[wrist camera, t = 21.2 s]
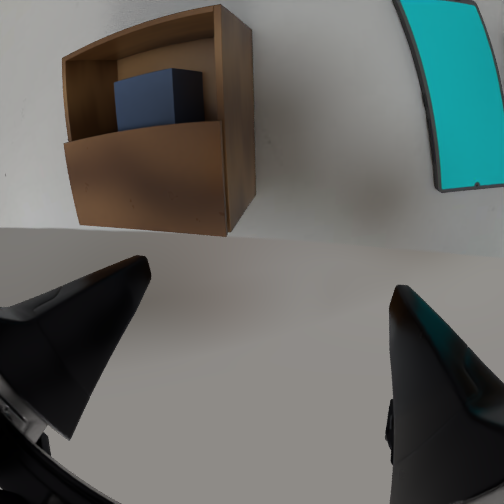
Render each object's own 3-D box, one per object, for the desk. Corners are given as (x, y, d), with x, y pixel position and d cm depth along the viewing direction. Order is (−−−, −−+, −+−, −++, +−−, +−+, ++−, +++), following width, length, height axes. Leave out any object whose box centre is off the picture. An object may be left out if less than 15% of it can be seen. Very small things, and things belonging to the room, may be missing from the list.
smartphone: (475, 0, 7) (509, 186, 14) (470, 3, 8) (504, 183, 15) (391, -8, 10) (437, 193, 16) (388, -5, 10) (433, 189, 17)
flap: (227, 234, 16) (226, 237, 15) (82, 223, 18) (79, 225, 18) (222, 120, 12) (219, 120, 12) (66, 142, 15) (63, 143, 15)
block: (202, 71, 17) (171, 67, 13) (205, 129, 19) (176, 139, 15) (150, 80, 18) (113, 82, 14) (154, 133, 20) (119, 145, 16)
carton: (256, 194, 21) (230, 232, 16) (130, 191, 24) (85, 221, 18) (251, 29, 15) (221, 3, 9) (116, 57, 17) (61, 58, 12)
